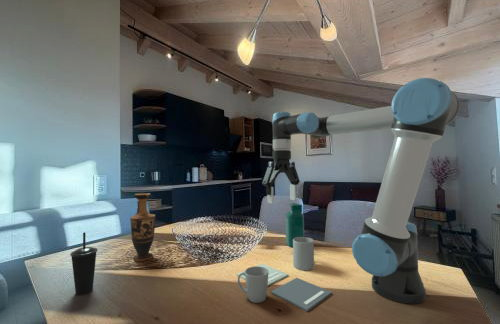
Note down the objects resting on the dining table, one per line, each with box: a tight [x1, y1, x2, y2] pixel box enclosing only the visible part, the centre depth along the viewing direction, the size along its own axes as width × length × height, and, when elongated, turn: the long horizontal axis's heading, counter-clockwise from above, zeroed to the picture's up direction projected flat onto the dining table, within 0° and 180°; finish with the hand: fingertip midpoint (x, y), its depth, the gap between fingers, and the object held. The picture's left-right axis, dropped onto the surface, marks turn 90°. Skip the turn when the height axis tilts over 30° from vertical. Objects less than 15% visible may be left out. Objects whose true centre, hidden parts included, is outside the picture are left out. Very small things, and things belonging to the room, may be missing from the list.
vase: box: [129, 192, 156, 262], centre depth 111 cm, size 11×11×30 cm
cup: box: [237, 265, 269, 304], centre depth 76 cm, size 8×10×8 cm
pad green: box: [236, 263, 289, 287], centre depth 91 cm, size 14×14×1 cm
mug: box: [292, 236, 315, 272], centre depth 101 cm, size 12×8×11 cm
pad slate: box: [270, 277, 333, 312], centre depth 78 cm, size 14×14×1 cm
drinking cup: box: [70, 232, 98, 296], centre depth 82 cm, size 8×8×20 cm
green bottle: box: [284, 202, 305, 248], centre depth 127 cm, size 10×8×22 cm
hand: (282, 201), depth 99 cm, fingers open, 13 cm apart
